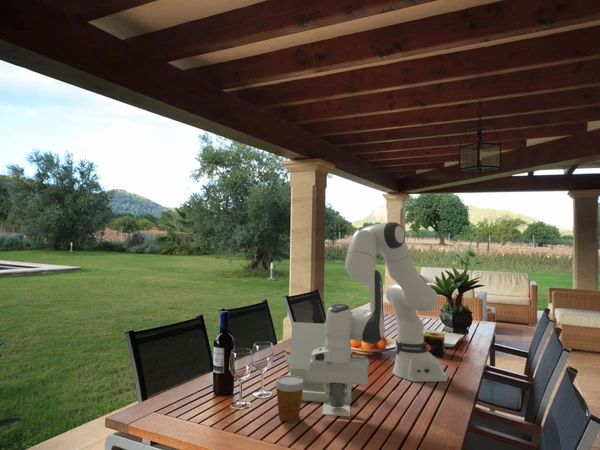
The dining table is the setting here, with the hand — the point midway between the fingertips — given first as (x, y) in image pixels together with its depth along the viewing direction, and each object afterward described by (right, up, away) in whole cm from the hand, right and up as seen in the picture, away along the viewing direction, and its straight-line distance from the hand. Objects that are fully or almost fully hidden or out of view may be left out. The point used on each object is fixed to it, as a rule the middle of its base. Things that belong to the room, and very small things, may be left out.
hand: (336, 395), depth 133 cm
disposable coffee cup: (-16, -5, -6) cm, 18 cm away
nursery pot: (0, -3, 0) cm, 3 cm away
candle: (+56, -10, +72) cm, 92 cm away
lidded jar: (-14, -7, +44) cm, 46 cm away
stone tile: (0, -5, 0) cm, 5 cm away
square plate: (+66, -11, +98) cm, 119 cm away
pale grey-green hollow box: (-5, -6, +18) cm, 20 cm away
